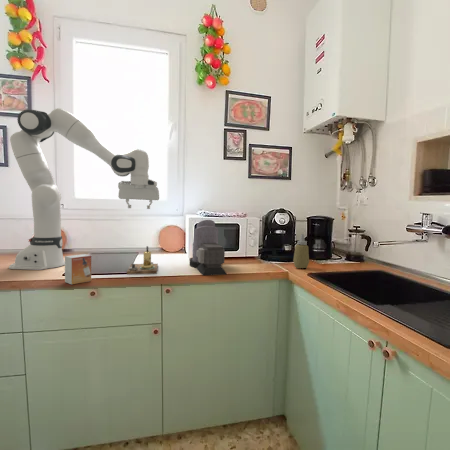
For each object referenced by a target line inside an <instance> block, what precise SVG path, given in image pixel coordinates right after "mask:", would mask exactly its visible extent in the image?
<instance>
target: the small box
mask: <svg viewBox="0 0 450 450" xmlns="http://www.w3.org/2000/svg"><path fill="white" fill-rule="evenodd" d="M64 261H65V265H64V282H65V283H67V284H69V285H75V284H81V283H88V282H91V281H92V255H91V254H86V253H81V254H73V255H65V256H64Z"/></svg>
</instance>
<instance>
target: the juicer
mask: <svg viewBox="0 0 450 450" xmlns="http://www.w3.org/2000/svg"><path fill="white" fill-rule="evenodd" d="M225 252H226V251H225V249H224V246H222V245H220V244H219V228H218V227H217V226H216V222H215V221H213V220H212V219H204V220H200V221H199V222H198V223H197V224H196V228H194V231H193V240H192V257H191V258H190V259H189V267H191V268H194V269H196V270H197V271H198V272H199V273H200V274H201V276H202V277H203V276H206V277H207V276H222V275H228V274H227V272H226V271H225V269H224V268H223V267H222V265H223V264H225V257H226V256H225Z"/></svg>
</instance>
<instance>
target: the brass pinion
mask: <svg viewBox="0 0 450 450" xmlns="http://www.w3.org/2000/svg"><path fill="white" fill-rule="evenodd" d="M151 262H152V251H150V250H149V246H148V245H147V246H146V251H143V263H144V264H143V263H141V264H142V265H141V268H143V269H150V268H153V264H154V263H153V264H151Z"/></svg>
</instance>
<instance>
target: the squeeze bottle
mask: <svg viewBox="0 0 450 450" xmlns="http://www.w3.org/2000/svg"><path fill="white" fill-rule="evenodd" d="M307 242H308V241H307V240H305V235H304V234H303V233H302V234H301V235H300V238H299V240H297V244H296V245H295V247H294V253H293V265H294V268H295V267H297V268H296V269H298V268H306V269H308V266H309V264H310V254H309V246H308V245H307V244H308V243H307Z"/></svg>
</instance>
